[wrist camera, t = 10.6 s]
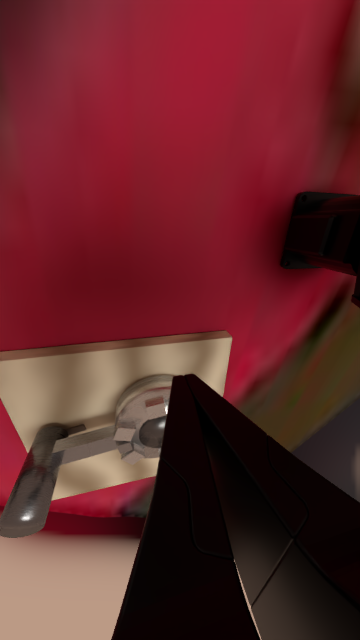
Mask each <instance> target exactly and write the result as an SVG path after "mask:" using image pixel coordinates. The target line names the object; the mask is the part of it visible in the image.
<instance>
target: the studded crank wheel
mask: <svg viewBox="0 0 360 640" xmlns="http://www.w3.org/2000/svg"><path fill="white" fill-rule="evenodd" d="M172 379H173V376H169V375H160V376H153V377H149V378H145V379H143V380H140V381H138V382H136V383H135V384H133V385H132V386H130V387H129V388H128V389H127V390H125V392H124V393H123V394H122V395H121V397H120V398H119V400H118V402H117V405H116V413H115V425H112V426H108V427H105V428H101V429H97V430H93V431H90V432H86V433H82V434H79V435H75V436H71V437H69V434H68V432H67V431H66V430H65V429H63V428H61V427H56V426H51V427H46V428H43V429H41V430H40V431H38V432H37V434H36V436H35V438H34V441H33V443H32V445H31V448H30V450H29V452H28V455H27V457H26V459H25V462H24V464H23V466H22V469H21V471H20V473H19V476H18V478H17V480H16V483H15V485H14V487H13V490H12V492H11V494H10V497H9V499H8V501H7V504H6V506H5V509H4V511H3V513H2V516H1V518H0V535H1V536H3V537H9V538H17V537H24V536H28V535H31V534H34V533H36V532H38V531H39V530H41V529H42V528H43V527H44V525H45V521H46V518H47V514H48V510H49V507H50V503H51V500H52V496H53V492H54V489H55V485H56V481H57V478H58V474H59V470H60V467H61V465H63V464H67V463H70V462H74V461H77V460H81V459H84V458H88V457H91V456H95V455H98V454H102V453H105V452H109V451H112V450H116V449H118V450H119V453H120V454H121V453H122V454H121V460H123V461H125V462H127V463H129V464H132V465H134V464H135V463H136V462H138V461H139V460H141V459H142V458H159V457H160V451H161V445H162V439H163V433H164V427H165V421H166V415H167V409H168V403H169V397H170V391H171V385H172Z"/></svg>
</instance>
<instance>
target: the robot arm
mask: <svg viewBox="0 0 360 640" xmlns="http://www.w3.org/2000/svg"><path fill="white" fill-rule="evenodd" d="M302 196H303V201H302ZM286 262H287V264H286ZM285 264H286V265H285ZM280 265H281V267H282V268H285V269H301V268H326V269H330V270H334V271H338V272H342V273H346V274H350V275H354V276H357V277H356V283H355V289H354V294H353V295H352V299H351V302H352V303H354V304H355V305H357V306H358V307H359V308H360V195H350V194H335V193H320V192H300V193H299V194H298V195H297V197H296V200H295V204H294V209H293V213H292V217H291V221H290V225H289V230H288V234H287V238H286V242H285V246H284V251H283V255H282V259H281V264H280ZM234 560H235V562H234ZM235 563H236V564H235ZM236 565H237V568H238V571H239V574H240V577H241V580H242V583H243V586H244V589H245V592H246V595H247V598H248V600H249V603H250V605H251V609H252V613H253V615H254V618H255V621H256V624H257V627H258V630H259V633H260V636H261V639H262V640H360V503H359V502H358V501H357V500H355V499H354V498H352V497H351V496H350V495H348V494H346V493H345V492H344V491H342V490H341V489H339V488H338V487H337V486H335V485H334V484H333V483H331V482H330V481H328V480H327V479H325V478H324V477H323V476H321V475H320V474H318V473H317V472H315V471H314V470H313V469H311V468H310V467H309V466H307V465H306V464H305V463H303V462H302V461H301V460H299V459H298V458H297V457H295V456H294V455H293V454H291V453H290V452H289V451H288V450H286V449H285V448H284V447H283V446H281V445H280V444H279V443H278V442H276V441H275V440H274V439H273V438H272V437H270V436H269V435H267V434H266V433H265V432H264V431H263V430H262V429H261V428H259V427H258V426H257V425H256V424H255V423H253V422H252V421H251V420H250V419H248V418H247V417H246V416H245V415H244V414H242V413H241V412H240V411H239V410H238V409H236V408H235V407H234V406H233V405H232V404H230V403H229V402H228V401H227V400H226V399H224V398H223V397H222V396H221V395H219V394H218V393H217V392H216V391H215V390H213V389H212V388H211V387H210V386H209V385H207V384H206V383H205V382H204V381H203V380H201V379H200V378H199V377H198V376H196V375H195V374H193V373H191V374H185V375H184V376H183V375H177V376H173V379H172V385H171V391H170V397H169V403H168V409H167V415H166V421H165V427H164V433H163V439H162V445H161V451H160V457H159V462H158V468H157V474H156V479H155V484H154V489H153V494H152V499H151V502H150V506H149V510H148V514H147V518H146V522H145V525H144V529H143V533H142V536H141V539H140V543H139V547H138V550H137V554H136V557H135V561H134V564H133V568H132V571H131V575H130V578H129V582H128V585H127V589H126V592H125V596H124V599H123V603H122V606H121V610H120V613H119V617H118V620H117V623H116V626H115V629H114V633H113V636H112V639H111V640H260V637H259V635H258V633H257V630H256V627H255V625H254V622H253V620H252V617H251V614H250V611H249V609H248V606H247V602H246V599H245V596H244V593H243V590H242V587H241V583H240V579H239V576H238V572H237V569H236Z"/></svg>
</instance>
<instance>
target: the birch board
mask: <svg viewBox="0 0 360 640" xmlns="http://www.w3.org/2000/svg"><path fill="white" fill-rule="evenodd" d="M231 342H232V336H231V335H230V334H229V333H228V332H227V331H215V332H205V333H194V334H183V335H173V336H162V337H152V338H141V339H131V340H120V341H110V342H99V343H89V344H78V345H68V346H57V347H46V348H36V349H25V350H15V351H4V352H0V398H1V400H2V402H3V404H4V406H5V408H6V410H7V412H8V414H9V416H10V418H11V420H12V422H13V424H14V426H15V428H16V430H17V432H18V434H19V436H20V438H21V440H22V442H23V444H24V446H25V448H26V450H27V452H29V450H30V448H31V445H32V443H33V441H34V438H35V436H36V434H37V432H38V431H40V430H41V429H43V428H46V427H51V426H56V427H61V428H63V429H65V430H66V431H67V432H68V434H69V437H71V436H75V435H79V434H82V433H86V432H90V431H93V430H97V429H101V428H105V427H108V426H112V425H115V413H116V405H117V402H118V400H119V398H120V397H121V395H122V394H123V393H124V392H125V390H127V389H128V388H129V387H130V386H132V385H133V384H135V383H136V382H138V381H140V380H143V379H145V378H149V377H153V376H160V375H169V376H177V375H183V376H184V375H185V374H191V373H193V374H195V375H196V376H198V377H199V378H200V379H201V380H203V381H204V382H205V383H206V384H207V385H209V386H210V387H211V388H212V389H213V390H215V391H216V392H217V393H218V394H219V395H221V396H222V397H223V392H224V386H225V380H226V373H227V367H228V361H229V355H230V348H231ZM121 454H122V453H121ZM121 454H120V453H119V450H118V449H116V450H112V451H109V452H105V453H102V454H98V455H95V456H91V457H88V458H84V459H81V460H77V461H74V462H70V463H67V464H63V465H61V467H60V470H59V474H58V478H57V481H56V485H55V489H54V492H53V496H52V500H56V499H60V498H64V497H68V496H72V495H77V494H81V493H85V492H89V491H93V490H98V489H102V488H106V487H110V486H114V485H118V484H123V483H127V482H131V481H135V480H139V479H143V478H148V477H152V476H156V474H157V468H158V462H159V458H142V459H141V460H139V461H138V462H136V463H135V464H134V465H132V464H129V463H127V462H125V461H123V460H121Z"/></svg>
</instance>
